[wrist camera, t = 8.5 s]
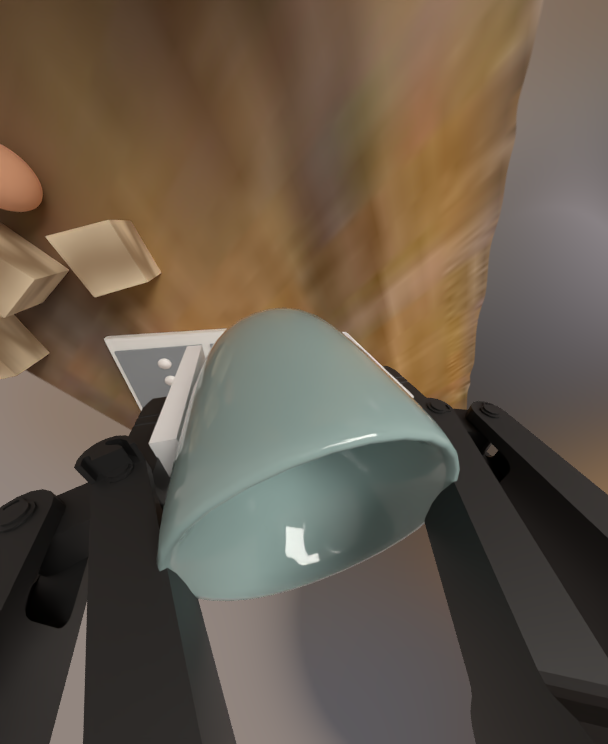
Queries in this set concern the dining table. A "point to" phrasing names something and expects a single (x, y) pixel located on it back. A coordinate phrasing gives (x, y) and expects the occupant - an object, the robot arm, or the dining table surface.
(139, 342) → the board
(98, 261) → the block
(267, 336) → the cup
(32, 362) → the block
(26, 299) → the block
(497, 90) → the dining table surface
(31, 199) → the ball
